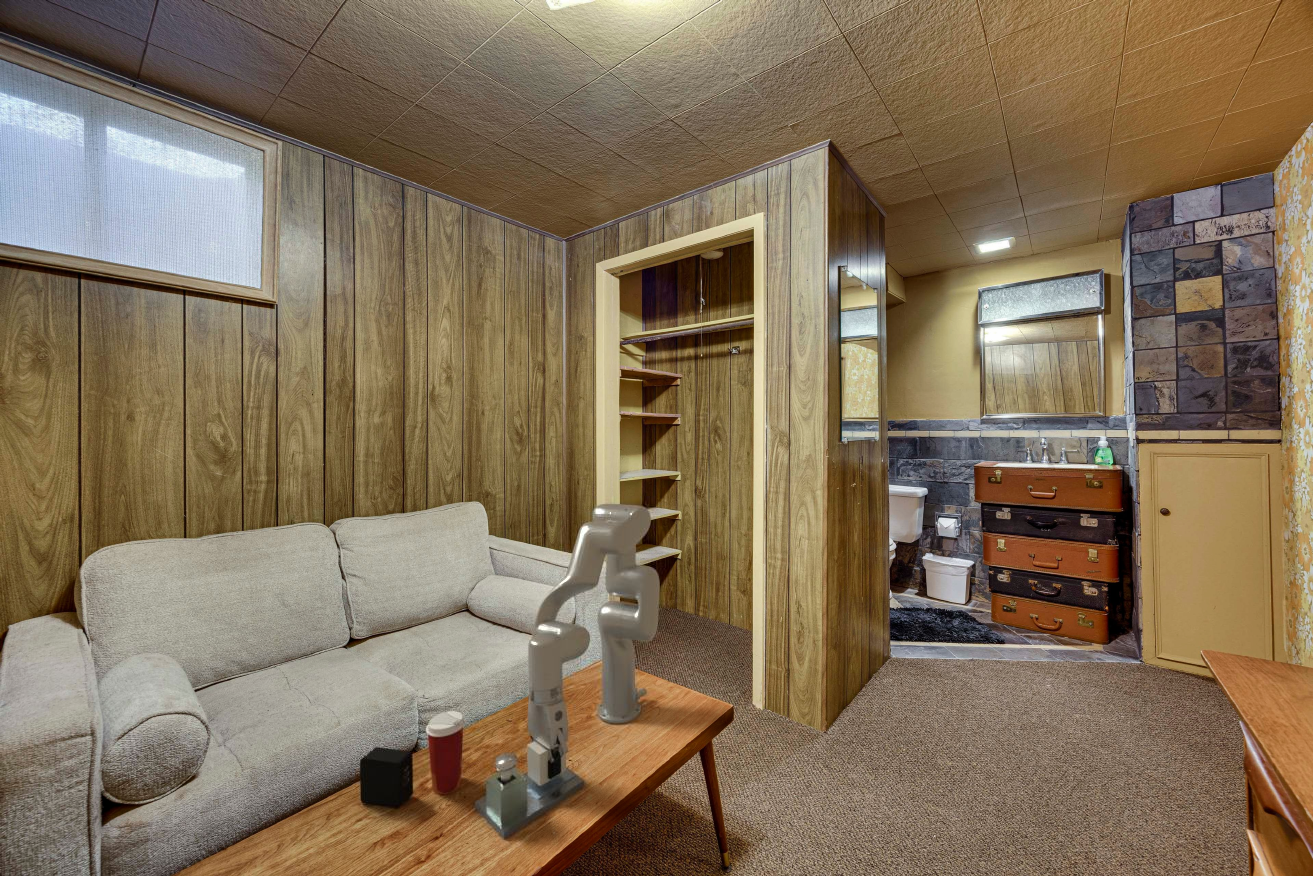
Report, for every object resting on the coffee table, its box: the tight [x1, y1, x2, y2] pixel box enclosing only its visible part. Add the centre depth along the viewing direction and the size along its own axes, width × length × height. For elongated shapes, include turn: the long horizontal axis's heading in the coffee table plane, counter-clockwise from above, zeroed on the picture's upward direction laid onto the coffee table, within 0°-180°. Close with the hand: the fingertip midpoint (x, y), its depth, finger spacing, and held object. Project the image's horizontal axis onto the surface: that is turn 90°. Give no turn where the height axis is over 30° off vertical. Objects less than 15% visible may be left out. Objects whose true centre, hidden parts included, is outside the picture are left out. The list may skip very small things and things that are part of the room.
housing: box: [526, 740, 567, 786], centre depth 114 cm, size 7×5×7 cm
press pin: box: [494, 752, 518, 786], centre depth 105 cm, size 4×4×6 cm
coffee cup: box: [425, 710, 466, 795], centre depth 115 cm, size 8×8×15 cm
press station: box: [474, 766, 585, 840], centre depth 110 cm, size 20×12×8 cm, turn 136°
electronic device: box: [359, 746, 414, 810], centre depth 110 cm, size 4×10×10 cm, turn 78°
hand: (547, 769), depth 114 cm, fingers closed on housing, 5 cm apart
